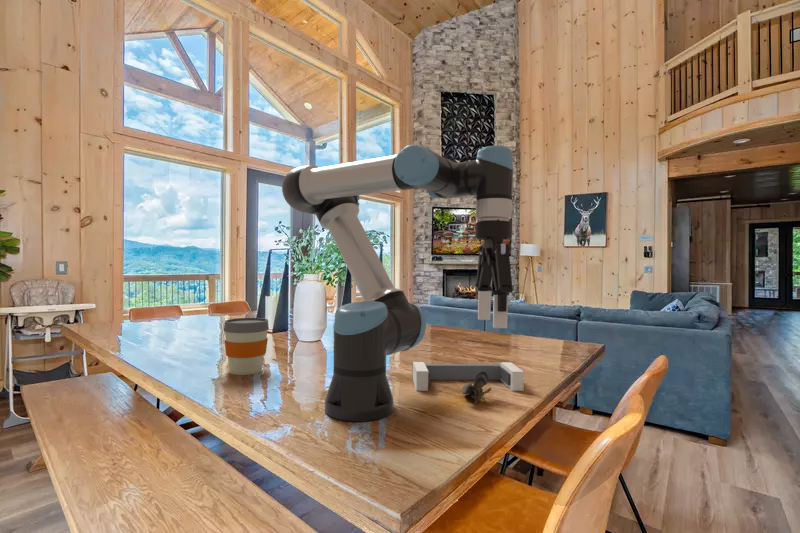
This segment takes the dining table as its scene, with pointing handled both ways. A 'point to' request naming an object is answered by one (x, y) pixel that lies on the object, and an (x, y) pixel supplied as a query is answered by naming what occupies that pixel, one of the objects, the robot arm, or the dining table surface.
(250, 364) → the reusable coffee cup
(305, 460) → the dining table surface
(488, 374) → the rail
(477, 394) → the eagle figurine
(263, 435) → the dining table surface
